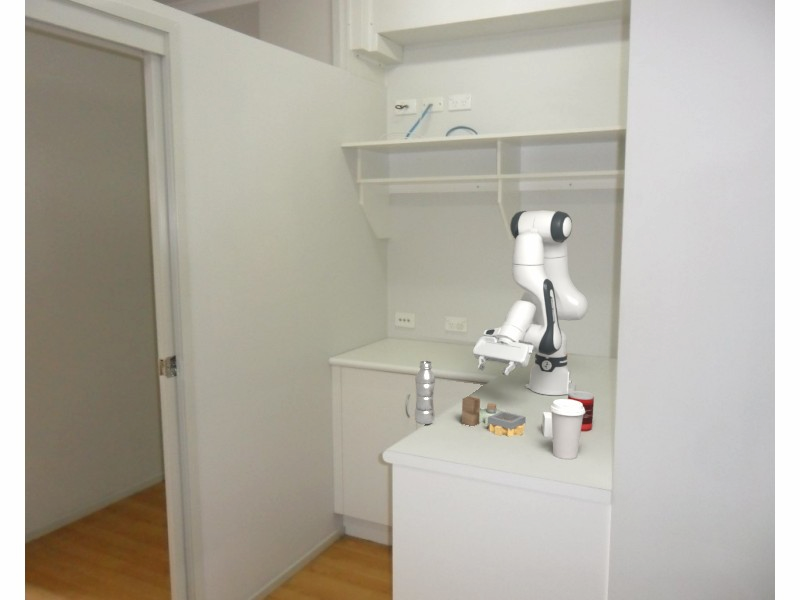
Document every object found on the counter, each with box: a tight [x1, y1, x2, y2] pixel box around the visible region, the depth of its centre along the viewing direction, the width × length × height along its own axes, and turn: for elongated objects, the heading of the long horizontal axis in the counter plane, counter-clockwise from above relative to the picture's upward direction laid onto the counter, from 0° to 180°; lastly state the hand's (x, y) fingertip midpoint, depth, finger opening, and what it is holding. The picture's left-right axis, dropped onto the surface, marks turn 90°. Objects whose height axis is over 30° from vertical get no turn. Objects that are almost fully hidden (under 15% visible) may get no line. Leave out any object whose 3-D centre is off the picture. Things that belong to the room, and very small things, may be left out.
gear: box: [479, 402, 507, 425], centre depth 207 cm, size 11×11×5 cm
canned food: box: [567, 390, 595, 432], centre depth 200 cm, size 8×8×11 cm
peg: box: [461, 395, 481, 427], centre depth 202 cm, size 4×4×8 cm
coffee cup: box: [549, 398, 585, 460], centre depth 176 cm, size 10×10×15 cm
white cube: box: [541, 411, 553, 438], centre depth 194 cm, size 6×6×6 cm
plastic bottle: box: [414, 360, 436, 425], centre depth 201 cm, size 6×7×20 cm
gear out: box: [487, 411, 527, 438], centre depth 197 cm, size 11×11×4 cm
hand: (492, 371), depth 210 cm, fingers open, 8 cm apart
